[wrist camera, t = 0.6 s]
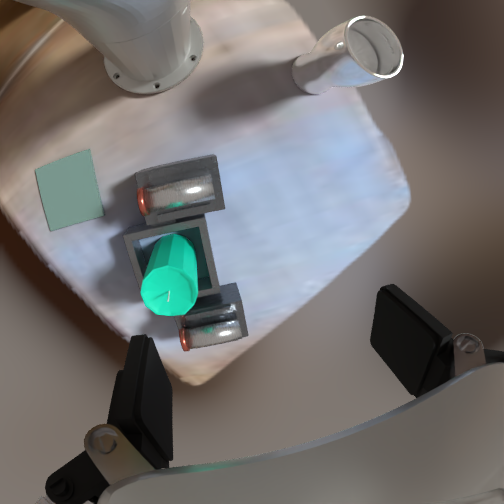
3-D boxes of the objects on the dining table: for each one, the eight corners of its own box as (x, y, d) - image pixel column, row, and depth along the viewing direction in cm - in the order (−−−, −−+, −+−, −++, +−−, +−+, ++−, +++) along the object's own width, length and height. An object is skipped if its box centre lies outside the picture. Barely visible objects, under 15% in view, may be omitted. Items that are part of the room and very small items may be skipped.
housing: (116, 176, 32) (103, 182, 27) (213, 154, 34) (216, 156, 28) (163, 331, 41) (161, 355, 36) (242, 316, 43) (249, 338, 38)
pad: (36, 169, 29) (35, 169, 28) (90, 148, 30) (89, 149, 29) (51, 230, 32) (50, 231, 32) (104, 215, 33) (103, 215, 33)
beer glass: (296, 101, 33) (356, 82, 19) (281, 54, 30) (332, 12, 16) (341, 94, 33) (413, 79, 20) (327, 49, 30) (391, 16, 17)
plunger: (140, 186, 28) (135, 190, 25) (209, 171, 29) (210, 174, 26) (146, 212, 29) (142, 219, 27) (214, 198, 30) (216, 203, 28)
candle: (145, 262, 37) (128, 310, 26) (165, 225, 36) (154, 262, 25) (182, 282, 39) (181, 334, 28) (204, 247, 38) (210, 291, 27)
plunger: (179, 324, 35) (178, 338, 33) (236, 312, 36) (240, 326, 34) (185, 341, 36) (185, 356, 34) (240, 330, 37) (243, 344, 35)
